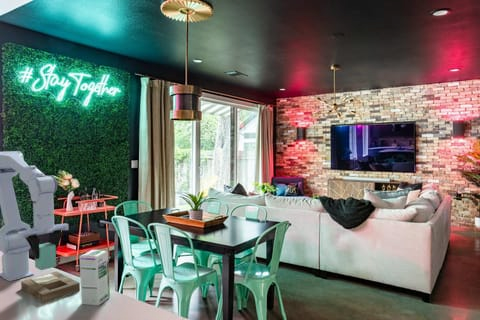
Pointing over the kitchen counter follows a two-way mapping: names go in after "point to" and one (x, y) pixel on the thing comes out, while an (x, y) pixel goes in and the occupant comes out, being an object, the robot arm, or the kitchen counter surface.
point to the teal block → (46, 256)
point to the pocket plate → (50, 286)
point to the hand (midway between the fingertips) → (45, 256)
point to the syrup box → (94, 277)
